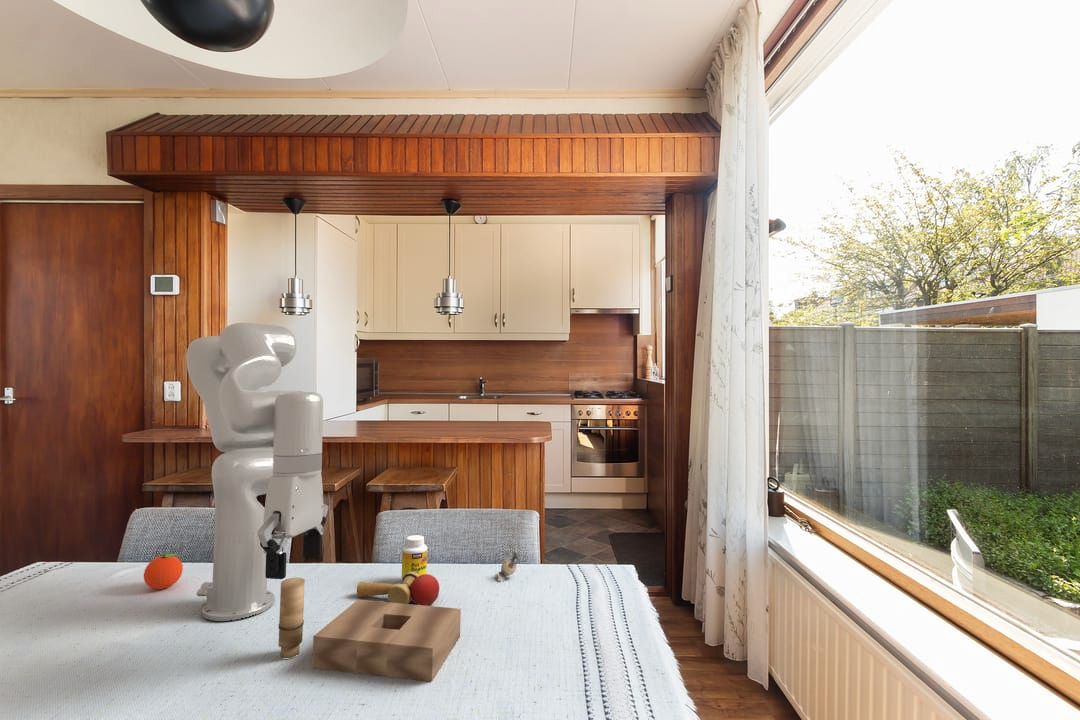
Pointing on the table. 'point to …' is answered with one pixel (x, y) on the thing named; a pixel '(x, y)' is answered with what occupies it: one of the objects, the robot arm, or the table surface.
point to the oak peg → (291, 616)
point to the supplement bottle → (414, 555)
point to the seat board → (388, 640)
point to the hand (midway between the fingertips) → (294, 567)
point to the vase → (508, 567)
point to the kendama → (404, 589)
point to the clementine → (163, 571)
